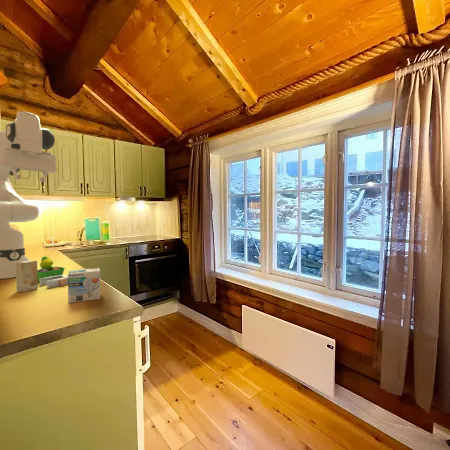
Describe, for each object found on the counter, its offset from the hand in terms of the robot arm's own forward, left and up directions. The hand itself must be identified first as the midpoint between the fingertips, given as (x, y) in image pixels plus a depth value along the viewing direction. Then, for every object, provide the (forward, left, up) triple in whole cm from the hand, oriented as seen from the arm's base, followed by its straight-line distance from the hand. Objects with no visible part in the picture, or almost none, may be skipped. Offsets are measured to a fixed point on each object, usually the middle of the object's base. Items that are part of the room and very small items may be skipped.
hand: (30, 180), depth 115 cm
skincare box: (+7, -5, -48) cm, 48 cm away
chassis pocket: (+7, +8, -47) cm, 48 cm away
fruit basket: (-6, +8, -48) cm, 49 cm away
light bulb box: (+39, +3, -48) cm, 62 cm away
